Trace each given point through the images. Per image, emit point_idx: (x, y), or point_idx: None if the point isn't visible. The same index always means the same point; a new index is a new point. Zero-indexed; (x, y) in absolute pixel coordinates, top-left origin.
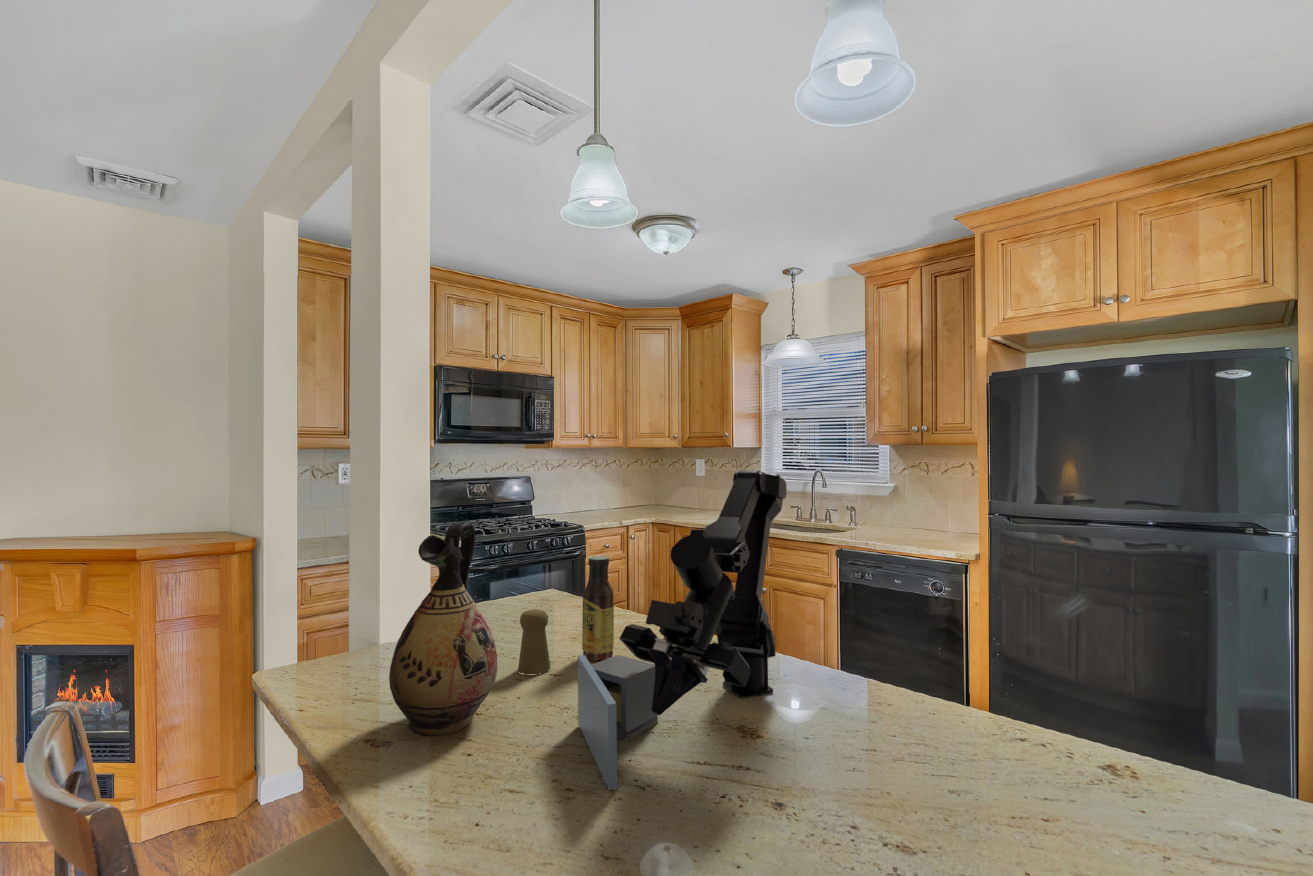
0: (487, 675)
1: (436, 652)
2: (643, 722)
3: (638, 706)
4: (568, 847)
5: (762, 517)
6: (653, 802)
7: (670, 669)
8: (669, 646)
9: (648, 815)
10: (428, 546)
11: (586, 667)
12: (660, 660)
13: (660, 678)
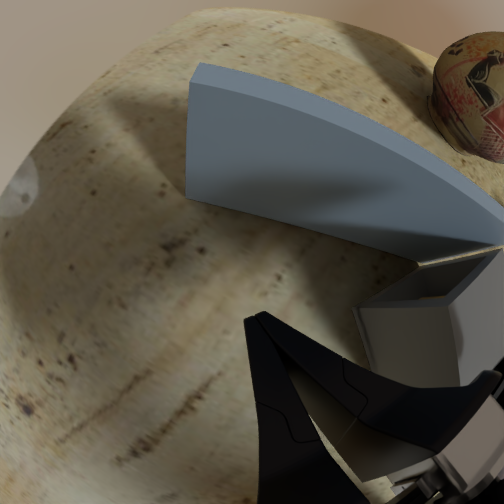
0: (482, 114)
1: (477, 40)
2: (375, 356)
3: (397, 347)
4: (111, 95)
5: None
6: (116, 239)
7: (367, 451)
8: (453, 490)
9: (91, 211)
10: None
11: (485, 194)
12: (412, 419)
13: (337, 386)
